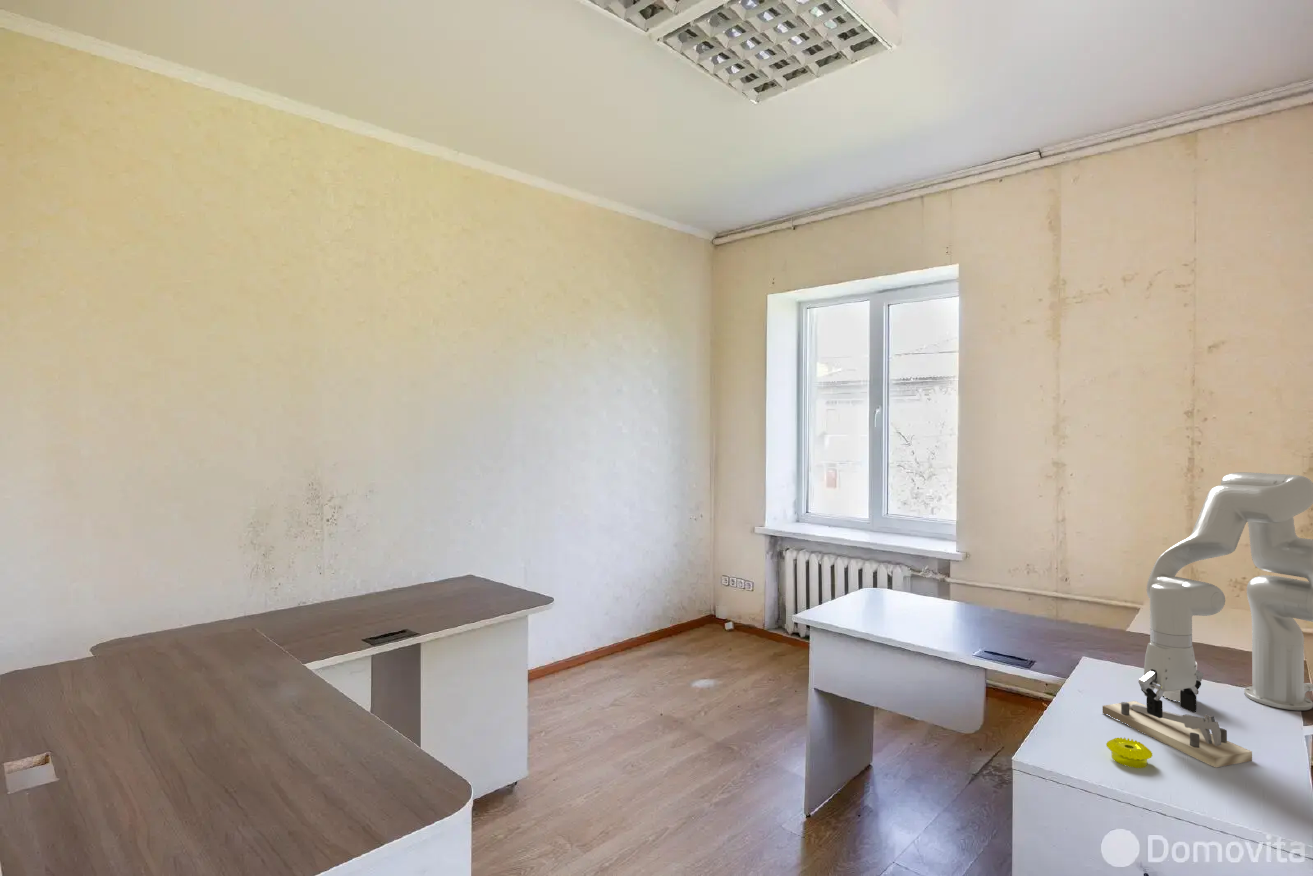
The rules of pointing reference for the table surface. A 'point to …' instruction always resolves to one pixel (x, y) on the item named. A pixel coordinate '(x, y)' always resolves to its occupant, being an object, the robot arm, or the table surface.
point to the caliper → (1191, 723)
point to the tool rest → (1180, 736)
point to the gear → (1129, 752)
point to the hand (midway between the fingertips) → (1171, 712)
